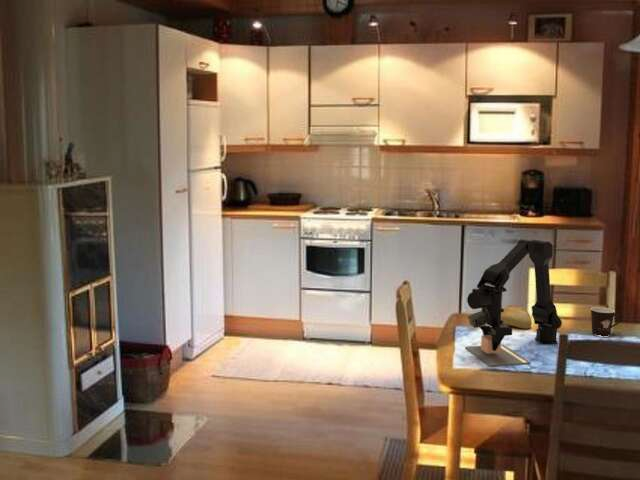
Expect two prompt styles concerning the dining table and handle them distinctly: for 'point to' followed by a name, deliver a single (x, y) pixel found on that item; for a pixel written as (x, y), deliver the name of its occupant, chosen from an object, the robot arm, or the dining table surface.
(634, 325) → the dining table surface
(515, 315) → the bread roll
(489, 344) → the terracotta block
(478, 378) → the dining table surface
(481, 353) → the mat
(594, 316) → the coffee mug
